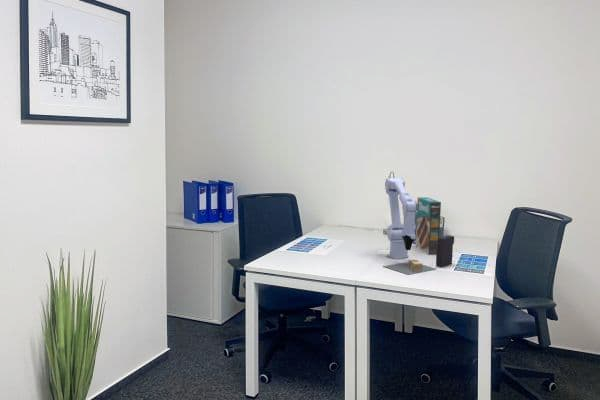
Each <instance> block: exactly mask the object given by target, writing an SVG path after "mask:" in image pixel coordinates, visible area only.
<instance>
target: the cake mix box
mask: <svg viewBox="0 0 600 400" xmlns="http://www.w3.org/2000/svg"><path fill="white" fill-rule="evenodd" d="M416 202H417V211H416V225H415V226H416V229H415V230H416V231H415V232H416V233H415V235H416V239H415V247H416V248H417V249H418V250H420V251H422V252H424V253H425V254H426V255H428V256H432V255H433V256H434V255H436V250H437V239H438V238H439V237H440V234H441V233H440V231H441V208H442V202H441V201H439V200H435V199H434V198H433V199H432V198H430V197H428V196H427V197H417V200H416Z"/></svg>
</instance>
